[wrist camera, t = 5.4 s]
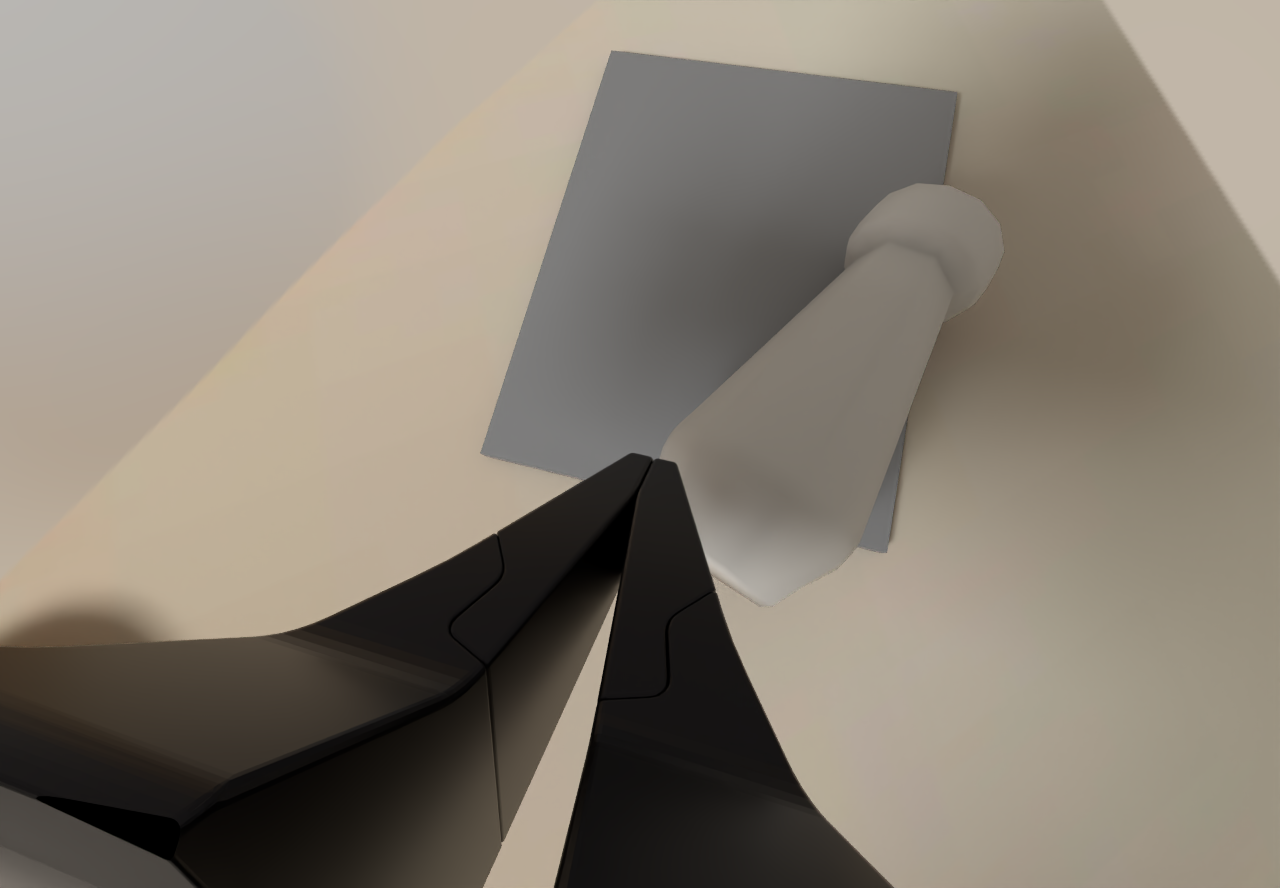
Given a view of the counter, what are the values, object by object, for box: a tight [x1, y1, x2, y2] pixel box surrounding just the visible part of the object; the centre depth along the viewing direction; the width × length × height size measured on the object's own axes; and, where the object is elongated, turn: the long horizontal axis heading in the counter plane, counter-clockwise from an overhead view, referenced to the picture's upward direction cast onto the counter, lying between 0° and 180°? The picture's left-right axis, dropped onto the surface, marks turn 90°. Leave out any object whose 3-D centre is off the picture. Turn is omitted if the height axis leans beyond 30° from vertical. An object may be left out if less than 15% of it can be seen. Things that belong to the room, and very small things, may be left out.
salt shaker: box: [660, 183, 1004, 607], centre depth 15 cm, size 6×6×13 cm
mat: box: [481, 50, 957, 553], centre depth 19 cm, size 18×14×1 cm
